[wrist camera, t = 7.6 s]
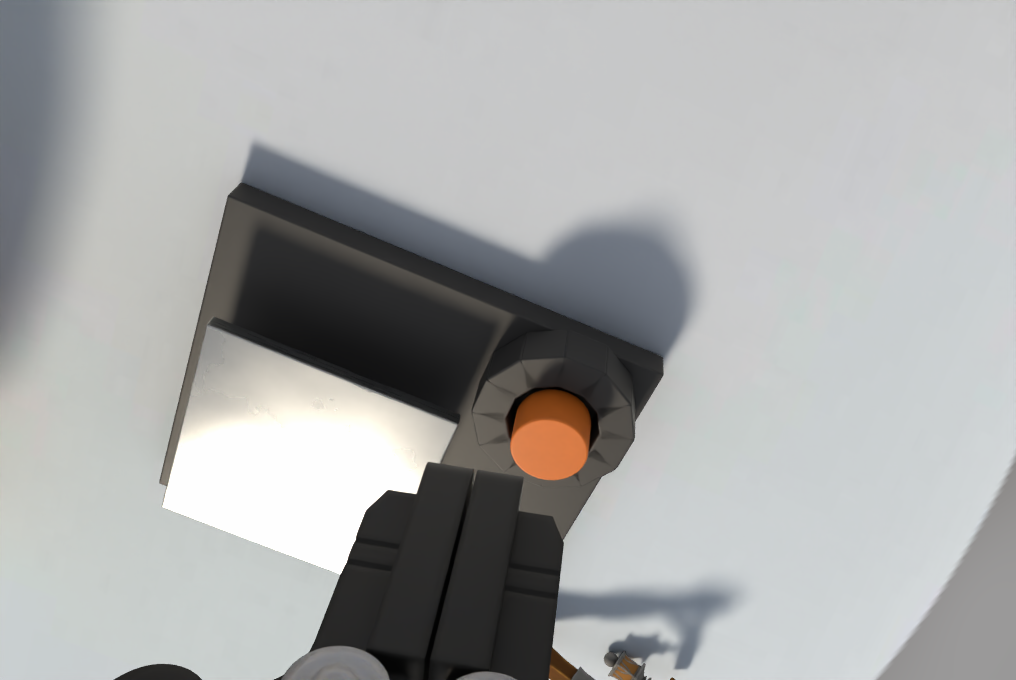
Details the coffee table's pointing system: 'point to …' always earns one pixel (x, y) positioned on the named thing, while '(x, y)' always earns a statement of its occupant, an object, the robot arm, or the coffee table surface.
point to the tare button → (551, 434)
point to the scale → (421, 339)
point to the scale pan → (295, 445)
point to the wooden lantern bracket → (624, 668)
